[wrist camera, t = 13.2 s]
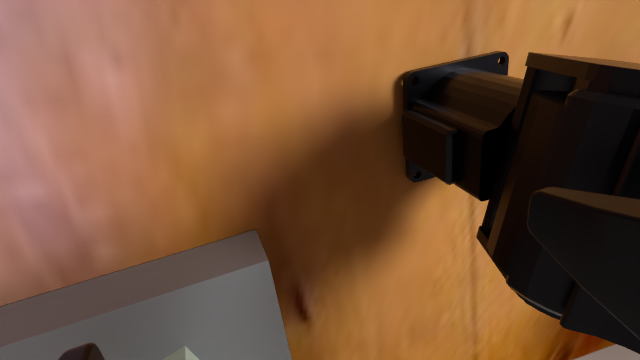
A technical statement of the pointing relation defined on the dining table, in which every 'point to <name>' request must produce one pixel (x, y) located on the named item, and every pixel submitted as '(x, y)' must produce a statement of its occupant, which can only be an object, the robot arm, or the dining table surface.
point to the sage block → (182, 355)
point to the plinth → (159, 310)
